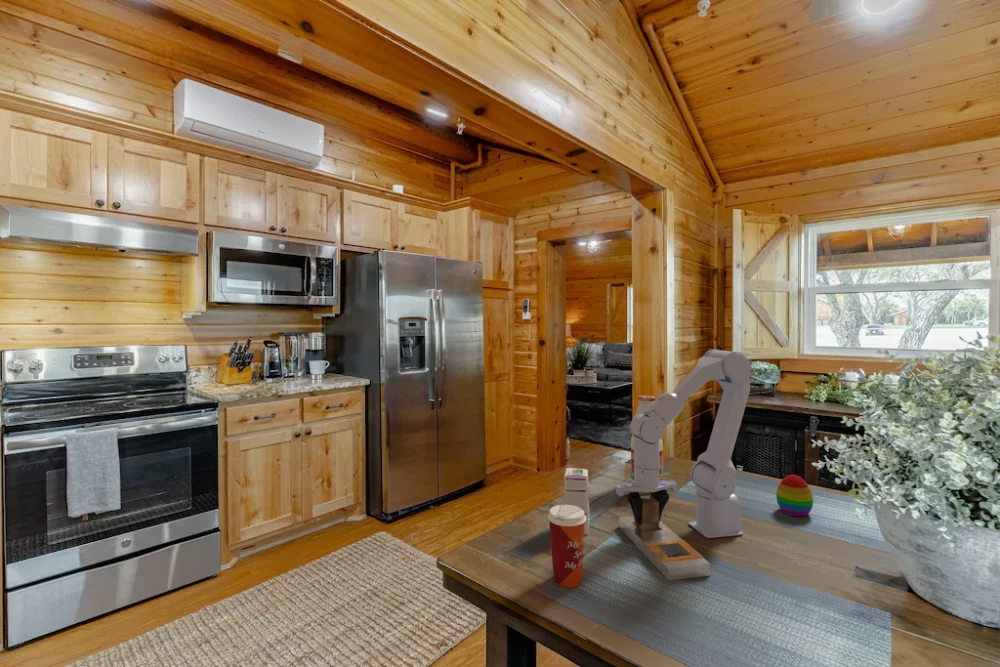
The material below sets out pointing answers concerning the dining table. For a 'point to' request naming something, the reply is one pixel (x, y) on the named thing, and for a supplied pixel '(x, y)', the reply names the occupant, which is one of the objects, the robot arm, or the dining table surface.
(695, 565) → the grey rail
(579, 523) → the paper cup
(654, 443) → the robot arm
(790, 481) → the decorative egg
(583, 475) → the syrup box
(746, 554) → the dining table surface
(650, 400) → the fruit juice
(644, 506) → the walnut peg
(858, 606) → the dining table surface
